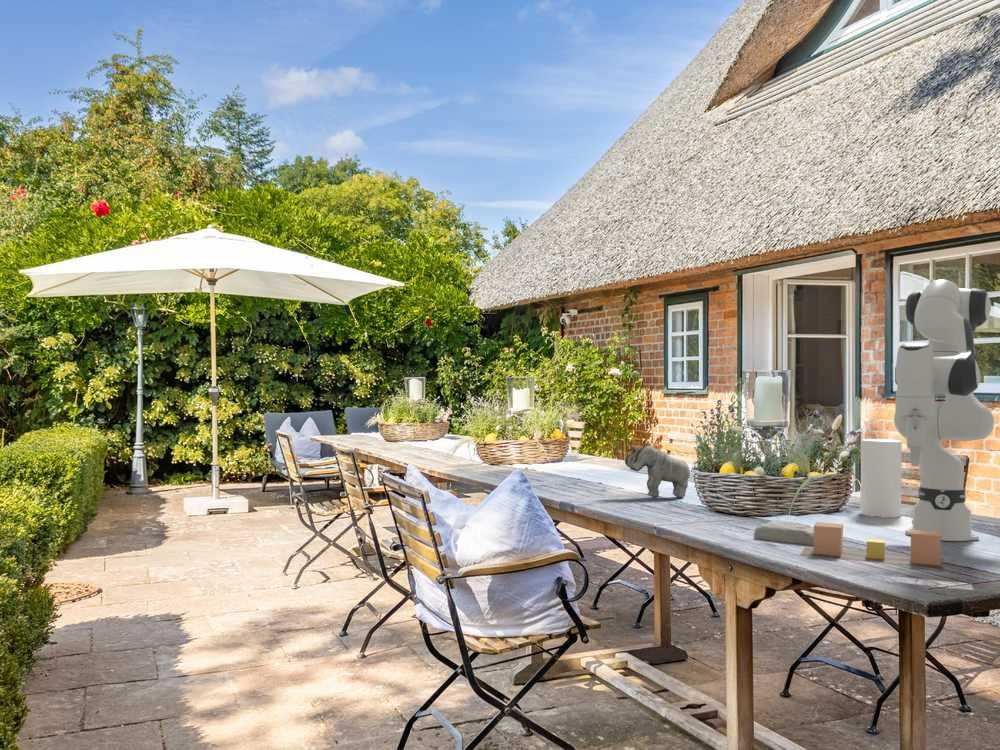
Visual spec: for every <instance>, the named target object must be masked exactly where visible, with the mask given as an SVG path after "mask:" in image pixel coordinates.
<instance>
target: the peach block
mask: <svg viewBox="0 0 1000 750" xmlns="http://www.w3.org/2000/svg"><path fill="white" fill-rule="evenodd" d="M813 527H814V545H813V547H814V554H823V555H834V556H841V555H842V552H843V548H844V524H843V523H832V522H819V521H816V522H815V524H814V525H813Z"/></svg>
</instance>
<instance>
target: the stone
mask: <svg viewBox="0 0 1000 750" xmlns="http://www.w3.org/2000/svg"><path fill="white" fill-rule="evenodd" d="M753 538H754V539H758V540H765V541H766V540H767V541H775V542H783V543H792V544H801V545H807V546H808V545H809V546H814V526H811V525H809V524H806V523H805V524H804V523H798V522H793V521H786V520H779V519H773V520H771V521H768V522H766V523H760V524H758V525H757V526H756V528H755V529H754V531H753Z"/></svg>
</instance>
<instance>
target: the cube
mask: <svg viewBox="0 0 1000 750" xmlns="http://www.w3.org/2000/svg"><path fill="white" fill-rule="evenodd" d="M885 545H886V541H885V539H874V538H867V539H866V551H867V554H866V558H875V559H884V557H885V553H886V552H885V551H886V547H885Z"/></svg>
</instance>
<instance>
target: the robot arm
mask: <svg viewBox="0 0 1000 750" xmlns="http://www.w3.org/2000/svg"><path fill="white" fill-rule="evenodd" d="M904 303H905V305H904V313H905V317H906V321H907V322H908V323H909V324H910V325H913V326H914V327H915V328H916V331H917V332H918V333H919V334H920V335H921V336H922V337H924V338H926V339H927V340H929V341H928V343H926V342H908V343H904V344H902V345H900V346H899V347H898V349H897V354H896V362H895V363H896V364H895V368H894V382H895V384H896V385H897V387H896V391H895V400H894V401H895V409H894V410H895V411H894V412H895V413H894V417H893V423H894V427H895V428H896V430H897V432H898V433H899V434H900V436H902V437H904V438H905V439H906V448H908V449H910V451H909V453H910V465H911V467H919V471H920V486H919V488H918V499H919V501H917V502H916V504H915V505H914V506H912V508H913V509H912V510H911V518H912V520H911V524H912V526H910V527H908V528H907V529H906V530H905V532H904V534H905V535H909V536H911V529H912V530H925V531H938V532H940V534H941V541H944V542H945V541H946V542H966V541H967V542H968V541H979V540H980V538H979V535H977V534H975V533H973V532H972V530H973V529H972V510H971V509H970V508H969V507H968V506H967V505H966V503H965V502H966V498H967V497H966V495H967V494H966V489H965V488H964V486H965V485H964V483H965V481H964V480H965V477H964V476H965V474H964V473H965V465H964V463H963V461H962V459H960V457H958V456H957V455H956V454H953V453H952V452H950V451H948V450H946V449H945V448H944V446H943V445H942V441H957V442H958V441H959V442H970V441H979V440H985V439H986V438H988V437H989V436H990V434H991V433H992V431H993V430H994V427H995V419H994V415H993V413H992V411H991V410H990V409H989V408H988V407H987V406H986V405H985V404H983V403H982V402H981V401H979V400H978V398H977V397H976V396H975V394H974V393H973V392H974V391H976V390H977V389H978V388H979V385H980V382H981V373H980V368H979V365H978V362H977V360H976V349H975V348H976V347H975V341H974V340H975V339H974V338H975V337H974V334H973V332H975V331H976V328H978V327H980V326H982V325H983V324H985V323H986V321H987V320H988V317H989V316H990V313H991V310H992V303H991V299H990V297H989V294H988V293H987V291H986V290H985V289H979V288H973V287H972V288H962V287H959V286H958V285H957V284H956V283H955V282H953V281H951V280H948V279H935V280H934V281H931V282H930V283H928V284H927V285H926V287H925V288H924V290H923V289H921V290H916V291H913V292H911V293H910V294H908V296H907V298H906V301H905V302H904ZM936 395H945V401H936V399H935V398H936V397H935V396H936Z"/></svg>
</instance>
